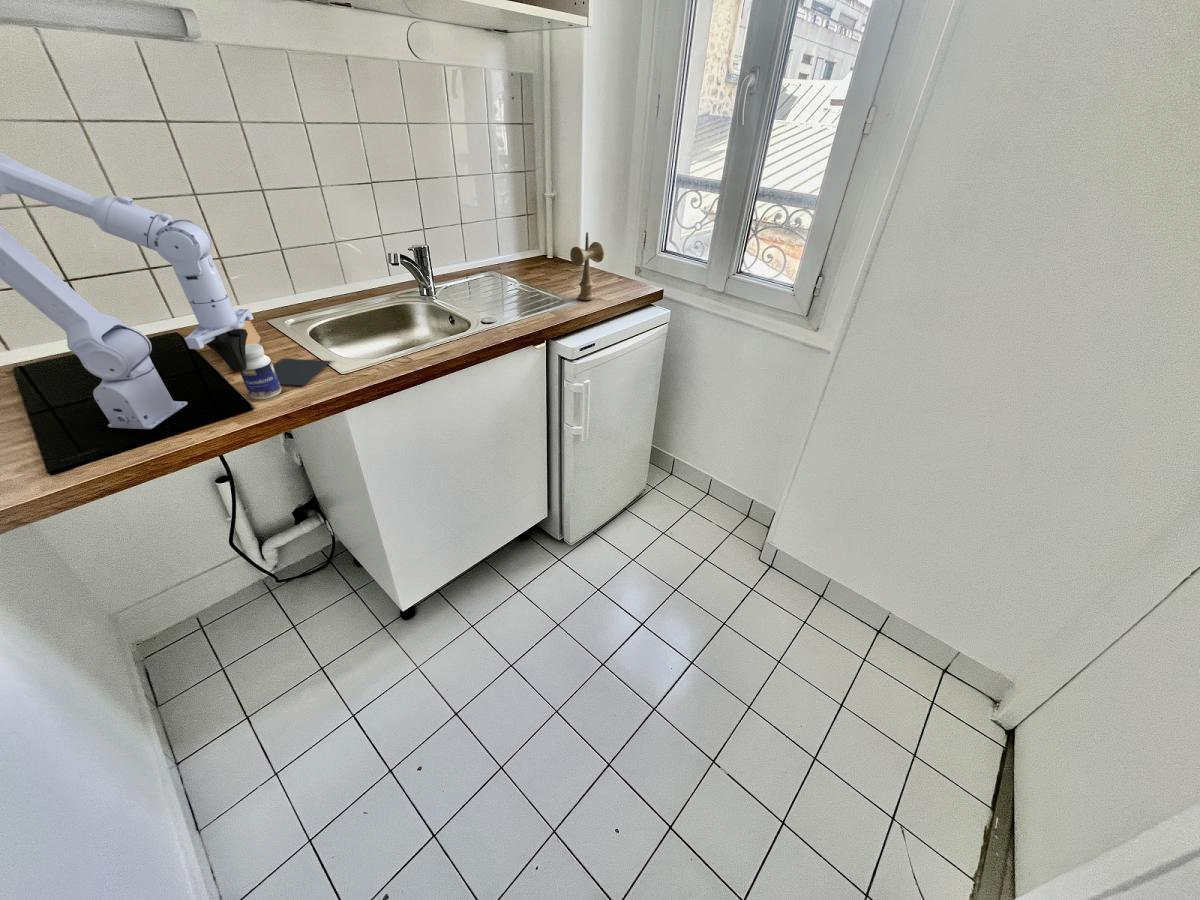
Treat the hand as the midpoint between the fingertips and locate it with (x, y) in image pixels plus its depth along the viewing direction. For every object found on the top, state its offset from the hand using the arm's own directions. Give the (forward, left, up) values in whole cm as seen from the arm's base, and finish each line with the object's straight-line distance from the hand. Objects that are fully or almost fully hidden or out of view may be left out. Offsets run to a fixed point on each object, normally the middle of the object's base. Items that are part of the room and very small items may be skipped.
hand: (239, 369), depth 92 cm
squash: (+20, +16, -8) cm, 27 cm away
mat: (+14, 0, -7) cm, 15 cm away
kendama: (+73, -62, -8) cm, 96 cm away
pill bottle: (+4, 0, -8) cm, 9 cm away
